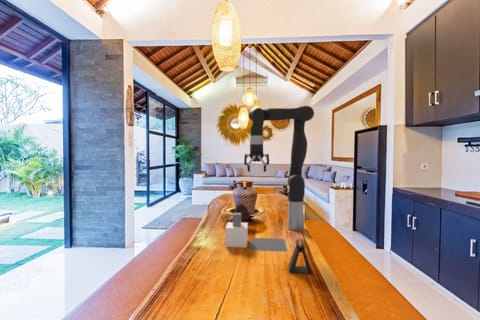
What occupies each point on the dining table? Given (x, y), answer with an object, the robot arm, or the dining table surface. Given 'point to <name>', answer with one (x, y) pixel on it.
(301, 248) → the phone stand
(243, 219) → the ice cream bowl
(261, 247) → the mat
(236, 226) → the cover
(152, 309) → the dining table surface
